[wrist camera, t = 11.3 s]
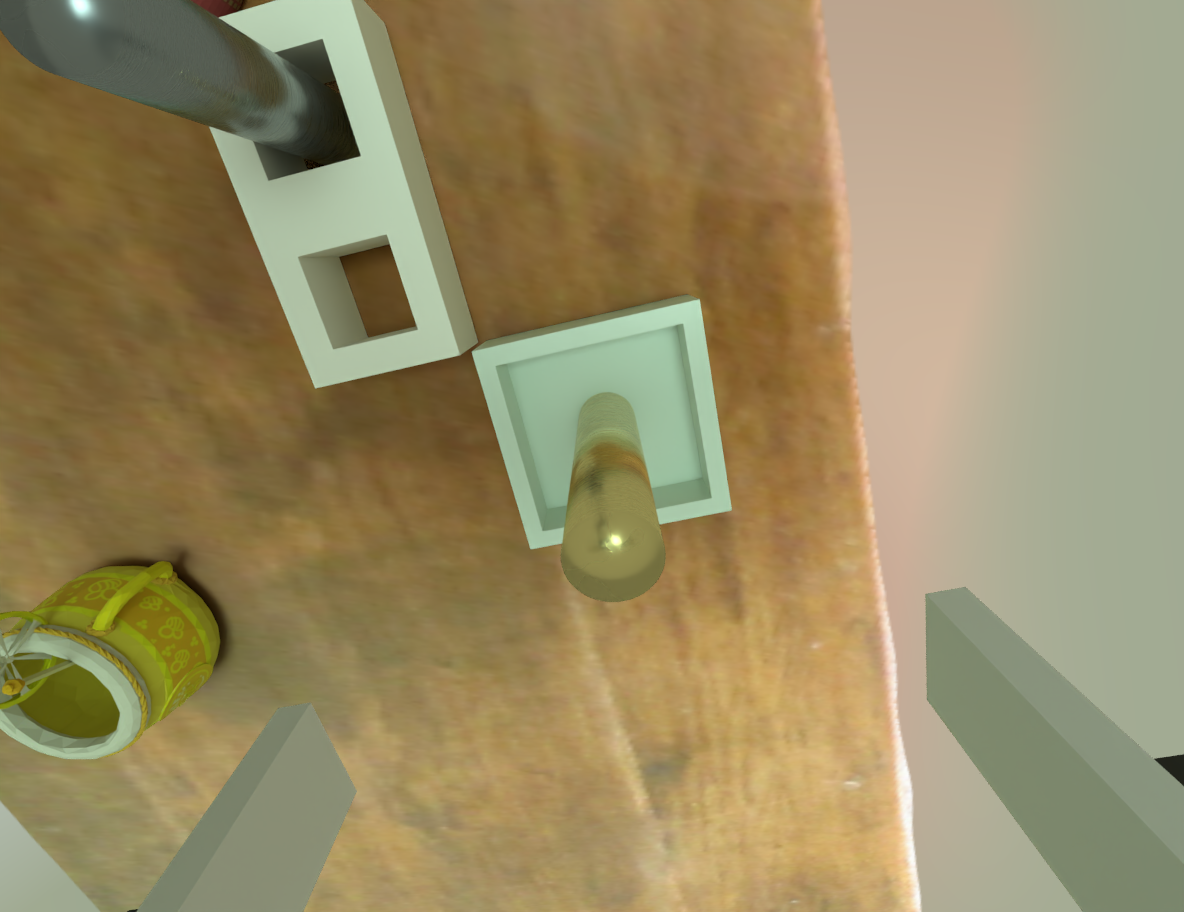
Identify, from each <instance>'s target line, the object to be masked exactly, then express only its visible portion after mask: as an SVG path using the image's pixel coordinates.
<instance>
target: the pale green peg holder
mask: <svg viewBox="0 0 1184 912" xmlns="http://www.w3.org/2000/svg"><path fill="white" fill-rule="evenodd" d="M219 18H220V19H221V20H223V21H224V22H226V23H228V24H229V25H231V26H232V27H234V28H236V29H237V30H239V31H240V32H242V33H244V34H245V35H247V36H248V37H250V38H251V39H253V40H255V41H256V42H258V43H259V44H261V45H263V46H264V47H266V48H267V49H269V50H271V51H272V52H274V53H275V54H277V55H278V56H280V57H282V58H283V59H285V60H286V61H288V62H290V63H291V64H293V65H294V66H296V67H297V68H299V69H301V70H302V71H304V72H305V73H307V74H309V75H310V76H312V77H313V78H315V79H317V80H318V81H320V82H321V83H323V84H324V83H328V82H331V81H335V80H336V81H337V84H338V87H339V90H340V93H341V96H342V100H343V103H344V106H345V109H346V112H347V115H348V118H349V121H350V124H351V127H352V130H353V133H354V136H355V139H356V142H357V145H358V148H359V151H360V154H361V156H360V157H356V158H352V159H349V160H345V161H341V162H337V163H334V164H330V165H326V166H323V167H319V168H315V169H311V170H308V169H307V166H306V164H305V161H304V158H302V157H299V156H296V155H293V154H290V153H287V152H284V151H281V150H278V149H275V148H272V147H269V146H266V145H263V144H260V143H257V142H254V141H251V140H248V139H245V138H243V137H240V136H237V135H234V134H231V133H228V132H225V131H222V130H219V129H216V128H213V127H210V126H209V127H210V130H211V132H212V135H213V137H214V140H215V142H216V145H217V147H218V150H219V152H220V154H221V157H222V159H223V162H224V164H225V167H226V169H227V172H228V174H229V177H230V179H231V182H232V184H233V187H234V189H235V192H236V194H237V196H238V199H239V201H240V204H241V206H242V209H243V211H244V214H245V216H246V219H247V221H248V224H249V226H250V229H251V231H252V233H253V236H254V238H255V241H256V243H257V246H258V248H259V251H260V253H261V256H262V258H263V261H264V263H265V266H266V268H267V271H268V273H269V275H270V278H271V280H272V283H273V285H274V288H275V290H276V293H277V295H278V298H279V300H280V303H281V305H282V308H283V310H284V312H285V315H286V317H287V320H288V322H289V325H290V327H291V330H292V332H293V335H294V337H295V340H296V342H297V345H298V347H299V350H300V352H301V354H302V357H303V359H304V362H305V364H306V367H307V369H308V372H309V374H310V377H311V379H312V382H313V384H314V387H315V388H319V387H324V386H328V385H333V384H337V383H341V382H346V381H350V380H354V379H359V378H363V377H367V376H372V375H376V374H381V373H385V372H389V371H394V370H398V369H402V368H407V367H411V366H415V365H420V364H424V363H429V362H433V361H437V360H442V359H446V358H450V357H455V356H459V355H461V354H463V353H464V352H465V351H467V350H468V349H470V348H471V347H473V346H474V345H475V344H477V343H478V340H477V336H476V333H475V329H474V326H473V323H472V319H471V316H470V312H469V309H468V305H467V302H466V299H465V295H464V292H463V288H462V285H461V282H460V278H459V275H458V271H457V268H456V265H455V261H454V258H453V254H452V251H451V247H450V244H449V241H448V237H447V234H446V230H445V227H444V224H443V220H442V217H441V213H440V210H439V207H438V203H437V200H436V196H435V193H434V190H433V186H432V183H431V179H430V176H429V172H428V169H427V166H426V162H425V159H424V155H423V152H422V149H421V145H420V142H419V138H418V135H417V132H416V128H415V125H414V121H413V118H412V114H411V111H410V108H409V104H408V101H407V97H406V94H405V91H404V87H403V84H402V80H401V77H400V74H399V70H398V67H397V63H396V60H395V56H394V53H393V50H392V46H391V43H390V39H389V36H388V33H387V29H386V26H385V23H384V22H383V21H382V20H381V19H380V18H379V17H378V15H377V14H376V13H375V12H374V11H373V10H372V9H371V8H370V7H369V6H368V5H367V4H366V2H365V1H364V0H276V1H273V2H269V3H266V4H263V5H259V6H256V7H252V8H249V9H246V10H242V11H239V12H236V13H232V14H229V15H226V16H222V17H219ZM389 244H390V246H391V249H392V252H393V255H394V258H395V261H396V264H397V267H398V270H399V273H400V276H401V280H402V283H403V286H404V289H405V292H406V295H407V298H408V301H409V304H410V307H411V310H412V313H413V316H414V319H415V322H416V325H417V326H415V327H411V328H407V329H403V330H398V331H394V332H390V333H386V334H381V335H377V336H373V337H369V338H368V336H367V333H366V330H365V328H364V325H363V322H362V319H361V316H360V314H359V311H358V308H357V305H356V303H355V300H354V297H353V294H352V291H351V289H350V286H349V283H348V280H347V278H346V275H345V272H344V269H343V266H342V264H341V261H340V258H339V257H341V256H345V255H349V254H353V253H357V252H361V251H365V250H369V249H373V248H377V247H381V246H385V245H389Z"/></svg>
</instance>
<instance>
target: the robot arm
mask: <svg viewBox="0 0 1184 912" xmlns="http://www.w3.org/2000/svg"><path fill="white" fill-rule="evenodd" d="M926 665H927V666H926V668H927V700H928V702H929V703H930V704H931V705H932V707H933V708H934V710H935V711H936V712H937V714H938V715H939V716H940V718H941V719H942V721H943V722H944V723H945V725H946V726H947V728H948V729H949V730H950V732H951V733H952V734H953V736H954V737H955V738H956V740H957V741H958V742H959V744H960V745H961V746H962V748H963V749H964V751H965V752H966V753H967V755H968V756H969V757H970V759H971V760H972V762H973V763H974V764H975V766H976V767H977V768H978V770H979V771H980V772H981V774H982V775H983V777H984V778H985V779H986V780H987V782H988V783H989V784H990V786H991V787H992V789H993V790H994V791H995V793H996V794H997V796H998V797H999V798H1000V800H1001V801H1002V802H1003V804H1004V805H1005V806H1006V808H1007V809H1008V810H1009V812H1010V813H1011V815H1012V816H1013V817H1014V819H1015V820H1016V821H1017V823H1018V824H1019V825H1020V827H1021V828H1022V830H1023V831H1024V832H1025V834H1026V835H1027V836H1028V838H1029V839H1030V840H1031V842H1032V843H1033V844H1034V846H1035V847H1036V849H1037V850H1038V851H1039V853H1040V854H1041V855H1042V857H1043V858H1044V859H1045V861H1046V862H1047V864H1048V865H1049V866H1050V868H1051V869H1052V870H1053V872H1054V873H1055V874H1056V876H1057V877H1058V879H1059V880H1060V881H1061V883H1062V884H1063V885H1064V887H1065V888H1066V889H1067V891H1068V892H1069V894H1070V895H1071V896H1072V898H1073V899H1074V900H1075V902H1076V903H1077V904H1078V906H1079V907H1080V908H1081V910H1082V911H1083V912H1184V755H1177V756H1171V757H1164V758H1157V759H1153V758H1152V757H1151V756H1150V755H1149V754H1148V753H1147V752H1146V751H1144V750H1143V749H1142V748H1141V747H1140V746H1139V745H1138V744H1137V743H1136V742H1135V741H1134V740H1132V739H1131V738H1130V737H1129V736H1128V735H1127V734H1126V733H1125V732H1124V731H1122V730H1121V729H1120V728H1119V727H1118V726H1117V725H1116V724H1115V723H1114V722H1113V721H1112V720H1111V719H1109V718H1108V717H1107V716H1106V715H1105V714H1104V713H1103V712H1102V711H1101V710H1100V709H1098V708H1097V707H1096V706H1095V705H1094V704H1093V703H1092V702H1091V701H1090V700H1089V699H1088V698H1086V697H1085V696H1084V695H1083V694H1082V693H1081V692H1080V691H1079V690H1078V689H1077V688H1075V687H1074V686H1073V685H1072V684H1071V683H1070V682H1069V681H1068V680H1067V679H1066V678H1065V677H1063V676H1062V675H1061V674H1060V673H1059V672H1058V671H1057V670H1056V669H1055V668H1053V667H1052V666H1051V665H1050V664H1049V663H1048V662H1047V661H1046V660H1045V659H1044V658H1042V656H1040V655H1039V654H1038V653H1037V652H1036V651H1035V650H1034V649H1033V648H1032V647H1030V646H1029V645H1028V644H1027V643H1026V642H1025V641H1024V640H1023V639H1022V638H1021V637H1020V636H1019V635H1017V634H1016V633H1015V632H1014V631H1013V630H1012V629H1011V628H1010V627H1009V626H1008V625H1006V624H1005V623H1004V622H1003V621H1002V620H1001V619H1000V618H999V617H998V616H997V615H996V614H994V613H993V612H992V611H991V610H990V609H989V608H988V607H987V606H986V605H985V604H983V603H982V602H981V601H980V600H979V599H978V598H977V597H976V596H975V595H974V594H973V593H971V592H970V591H969V590H968V589H967V588H966V587H962V588H957V589H951V590H945V591H940V592H934V593H928V594H926ZM356 792H357V790H356V788H355V787H354V785H353V783H352V781H351V779H350V777H349V775H348V773H347V771H346V769H345V767H344V766H343V764H342V762H341V760H340V758H339V756H338V754H337V752H336V750H335V748H334V746H333V745H332V743H331V741H330V739H329V737H328V735H327V733H326V731H325V729H324V727H323V725H322V723H321V722H320V720H319V718H318V716H317V714H316V712H315V710H314V708H313V706H312V704H311V703H305V704H300V705H294V706H288V707H283V708H278V709H277V711H276V712H275V714H274V715H273V717H272V718H271V719H270V721H269V722H268V724H267V725H266V727H265V728H264V729H263V731H262V732H261V734H260V735H259V737H258V738H257V739H256V741H255V742H254V744H253V745H252V747H251V748H250V750H249V751H248V752H247V754H246V755H245V757H244V758H243V760H242V761H241V762H240V764H239V765H238V767H237V768H236V770H235V771H234V772H233V774H232V775H231V777H230V778H229V780H228V781H227V783H226V784H225V785H224V787H223V788H222V790H221V791H220V793H219V794H218V795H217V797H216V798H215V800H214V801H213V803H212V804H211V805H210V807H209V808H208V810H207V811H206V813H205V814H204V816H203V817H202V818H201V820H200V821H199V823H198V824H197V826H196V827H195V828H194V830H193V831H192V833H191V834H190V836H189V837H188V838H187V840H186V841H185V843H184V844H183V846H182V847H181V848H180V850H179V851H178V853H177V854H176V856H175V857H174V859H173V860H172V861H171V863H170V864H169V866H168V867H167V869H166V870H165V871H164V873H163V874H162V876H161V877H160V879H159V880H158V881H157V883H156V884H155V886H154V887H153V889H152V890H151V892H150V893H149V894H148V896H147V897H146V899H145V900H144V902H143V903H142V904H141V906H140V907H139V909H136V910H129V911H127V912H303V911H304V909H305V906H306V904H307V902H308V900H309V897H310V895H311V893H312V891H313V888H314V886H315V884H316V882H317V879H318V877H319V875H320V873H321V870H322V868H323V866H324V864H325V861H326V859H327V857H328V855H329V852H330V850H331V848H332V846H333V843H334V841H335V839H336V837H337V834H338V832H339V830H340V828H341V825H342V823H343V821H344V819H345V816H346V814H347V812H348V810H349V807H350V805H351V803H352V801H353V798H354V796H355V794H356Z"/></svg>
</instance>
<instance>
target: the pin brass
mask: <svg viewBox="0 0 1184 912" xmlns="http://www.w3.org/2000/svg"><path fill="white" fill-rule="evenodd" d="M561 563H562V568H563V571H564V573H565V575H566V577H567V579H568V580H569V582H570V583H571V584H572V585H573V586H574V587H575V588H576V589H577V590H578V591H580V592H581V593H583V594H584V595H586V596H588V597H590V598H593V599H596V600H600V601H606V602H620V601H626V600H630V599H633V598H635V597H638V596H640V595H642V594H643V593H645V592H646V591H648V590H649V589H650V588H651V587H652V586H653V585H654V584H655V583H656V582H657V580H658V579H659V577H660V575H661V573H662V571H663V568H664V564H665V547H664V543H663V538H662V534H661V529H660V525H659V520H658V516H657V511H656V507H655V502H654V498H653V493H652V489H651V484H650V480H649V476H648V471H647V467H646V462H645V458H644V453H643V449H642V444H641V440H640V435H639V431H638V426H637V422H636V417H635V413H634V410H633V408H632V406H631V404H630V403H629V402H628V401H627V400H626V399H625V398H624V397H622V396H621V395H618V394H616V393H611V392H603V393H599V394H596V395H594V396H592V397H590V398H589V399H588V400H587V401H586V402H585V403H584V404H583V406H582V408H581V410H580V413H579V419H578V427H577V434H576V442H575V450H574V457H573V465H572V472H571V480H570V488H569V495H568V503H567V510H566V518H565V526H564V533H563V541H562V549H561Z"/></svg>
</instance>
